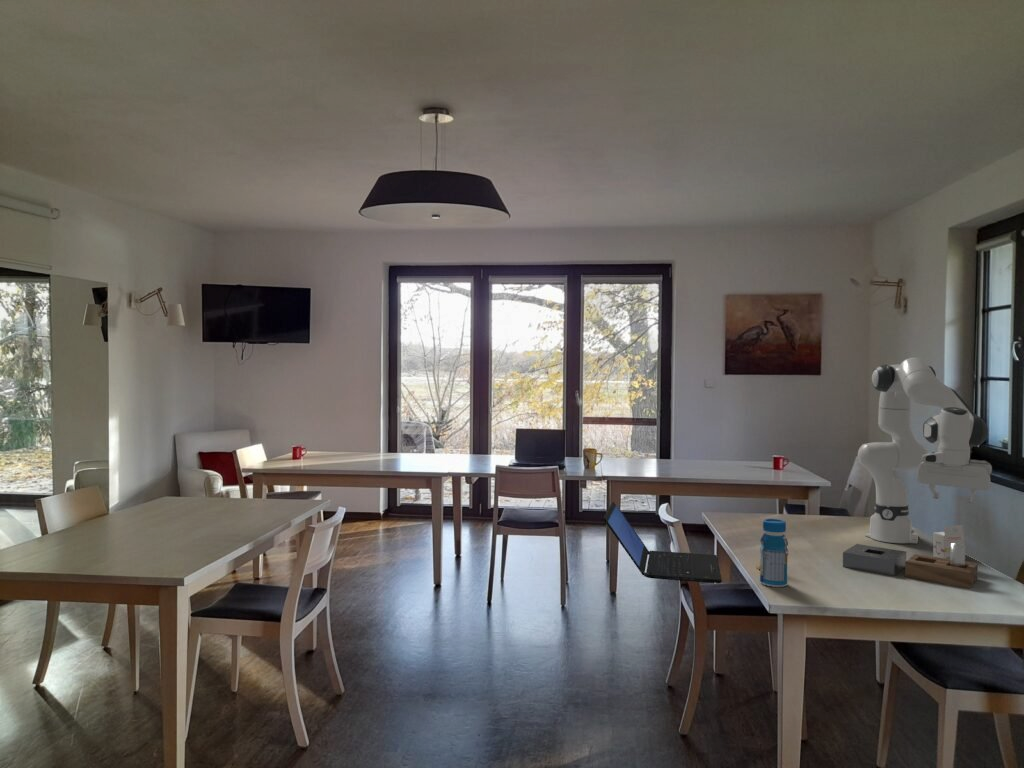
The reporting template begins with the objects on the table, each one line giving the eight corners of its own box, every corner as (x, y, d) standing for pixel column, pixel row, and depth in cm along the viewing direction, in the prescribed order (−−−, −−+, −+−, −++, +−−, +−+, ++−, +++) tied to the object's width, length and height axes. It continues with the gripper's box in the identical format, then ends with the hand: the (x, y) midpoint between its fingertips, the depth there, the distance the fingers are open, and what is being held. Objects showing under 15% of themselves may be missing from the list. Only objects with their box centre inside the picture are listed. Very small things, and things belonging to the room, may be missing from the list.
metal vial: (950, 577, 231) (951, 541, 231) (965, 580, 229) (966, 543, 228) (948, 580, 228) (949, 543, 228) (963, 583, 225) (964, 545, 225)
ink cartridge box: (951, 564, 248) (952, 522, 248) (964, 567, 243) (965, 525, 243) (932, 565, 246) (932, 523, 246) (944, 569, 241) (945, 526, 241)
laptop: (722, 586, 222) (722, 524, 221) (602, 577, 231) (602, 517, 230) (717, 559, 254) (717, 505, 254) (612, 551, 263) (612, 499, 263)
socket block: (856, 557, 256) (856, 543, 256) (906, 565, 245) (906, 551, 245) (842, 566, 244) (842, 552, 244) (894, 575, 233) (894, 560, 233)
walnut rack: (915, 568, 243) (915, 553, 242) (977, 578, 231) (977, 563, 231) (905, 576, 232) (905, 561, 232) (969, 588, 220) (970, 572, 220)
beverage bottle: (770, 588, 218) (771, 524, 218) (753, 581, 226) (754, 518, 226) (793, 586, 221) (794, 522, 220) (776, 579, 229) (777, 517, 228)
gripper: (993, 460, 225) (992, 503, 226) (920, 454, 239) (919, 494, 239) (990, 462, 221) (989, 506, 221) (916, 455, 234) (915, 497, 235)
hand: (952, 500), depth 230 cm, fingers open, 8 cm apart
